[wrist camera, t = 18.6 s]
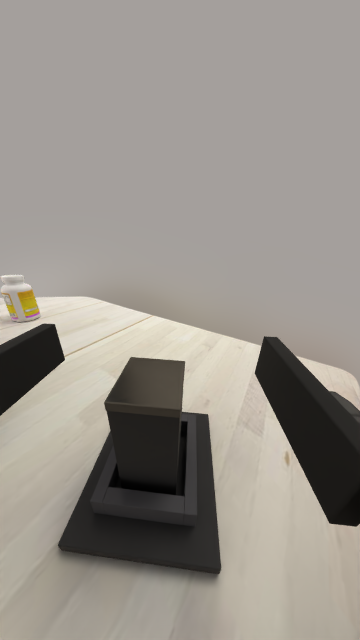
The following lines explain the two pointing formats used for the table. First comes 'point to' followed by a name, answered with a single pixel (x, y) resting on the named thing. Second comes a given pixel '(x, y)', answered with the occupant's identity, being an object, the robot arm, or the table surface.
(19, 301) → the supplement bottle
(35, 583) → the table surface
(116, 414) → the dark capped pillar
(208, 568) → the pad
